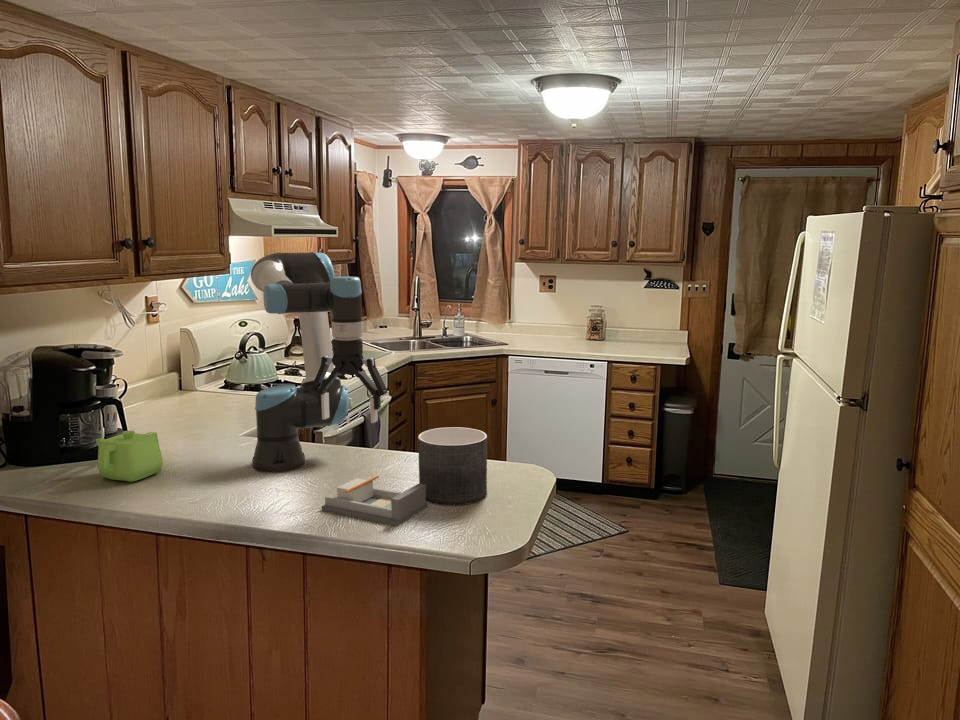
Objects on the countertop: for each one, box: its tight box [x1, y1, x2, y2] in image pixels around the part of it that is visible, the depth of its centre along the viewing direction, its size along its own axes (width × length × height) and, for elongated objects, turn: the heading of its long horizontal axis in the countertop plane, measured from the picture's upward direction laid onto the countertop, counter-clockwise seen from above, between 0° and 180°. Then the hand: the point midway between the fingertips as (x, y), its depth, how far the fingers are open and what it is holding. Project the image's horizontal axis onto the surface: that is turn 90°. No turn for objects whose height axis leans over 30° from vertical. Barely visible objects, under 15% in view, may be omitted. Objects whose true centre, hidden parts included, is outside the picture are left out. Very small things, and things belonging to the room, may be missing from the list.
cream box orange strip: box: [336, 475, 379, 502], centre depth 182 cm, size 6×13×5 cm, turn 153°
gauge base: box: [321, 483, 429, 527], centre depth 179 cm, size 22×14×6 cm, turn 63°
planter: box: [417, 426, 488, 506], centre depth 189 cm, size 18×18×16 cm
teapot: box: [95, 430, 164, 483], centre depth 204 cm, size 18×20×13 cm
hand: (349, 420), depth 186 cm, fingers open, 13 cm apart
